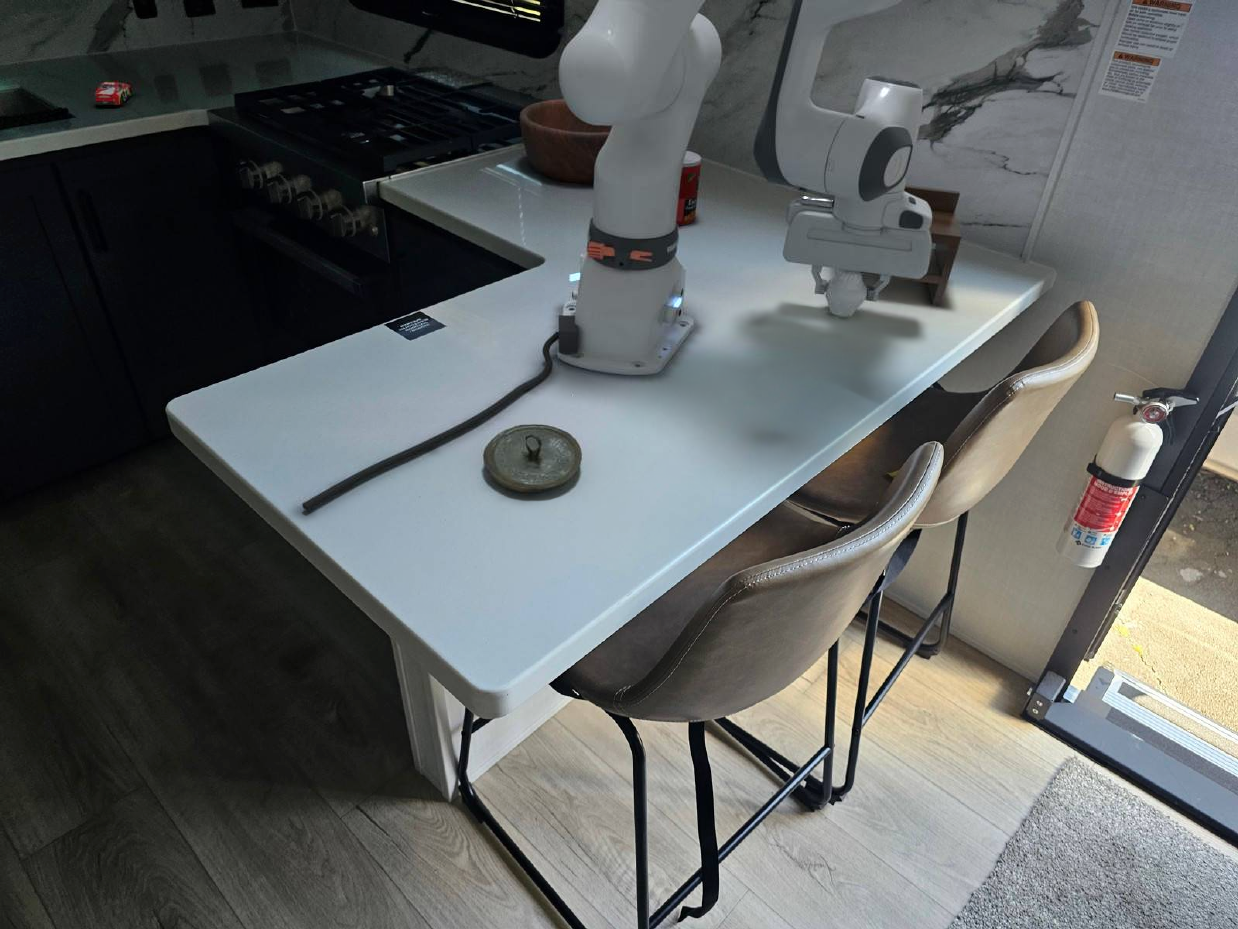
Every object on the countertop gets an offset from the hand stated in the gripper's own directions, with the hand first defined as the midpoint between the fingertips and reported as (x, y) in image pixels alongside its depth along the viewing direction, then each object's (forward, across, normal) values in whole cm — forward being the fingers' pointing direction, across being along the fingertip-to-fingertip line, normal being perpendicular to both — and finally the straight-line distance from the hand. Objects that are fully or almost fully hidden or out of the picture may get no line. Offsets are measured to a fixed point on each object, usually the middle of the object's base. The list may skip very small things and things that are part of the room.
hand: (845, 296), depth 125 cm
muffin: (+3, 0, 0) cm, 3 cm away
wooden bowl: (+3, -52, +50) cm, 72 cm away
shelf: (+3, +7, +13) cm, 15 cm away
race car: (+3, -163, +57) cm, 173 cm away
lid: (+3, -33, -49) cm, 59 cm away
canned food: (+3, -30, +29) cm, 42 cm away
